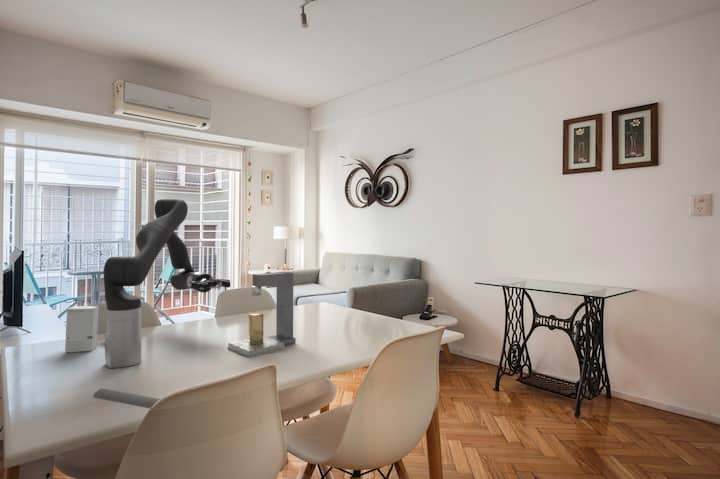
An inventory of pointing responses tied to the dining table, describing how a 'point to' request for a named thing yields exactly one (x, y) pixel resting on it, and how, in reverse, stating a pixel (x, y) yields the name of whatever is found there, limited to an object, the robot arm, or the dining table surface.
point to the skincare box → (81, 328)
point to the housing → (256, 328)
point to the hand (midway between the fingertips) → (218, 285)
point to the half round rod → (125, 398)
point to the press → (282, 315)
